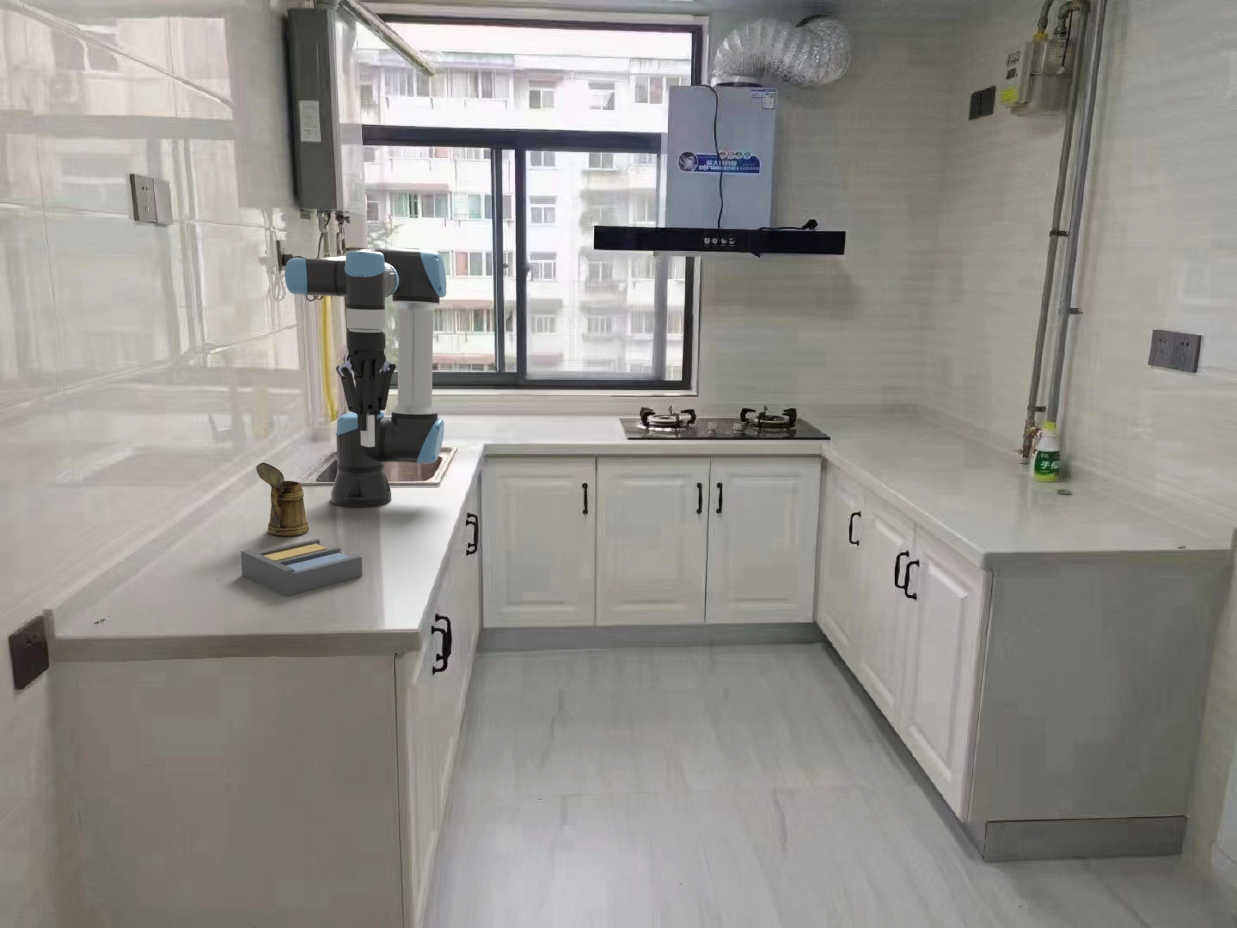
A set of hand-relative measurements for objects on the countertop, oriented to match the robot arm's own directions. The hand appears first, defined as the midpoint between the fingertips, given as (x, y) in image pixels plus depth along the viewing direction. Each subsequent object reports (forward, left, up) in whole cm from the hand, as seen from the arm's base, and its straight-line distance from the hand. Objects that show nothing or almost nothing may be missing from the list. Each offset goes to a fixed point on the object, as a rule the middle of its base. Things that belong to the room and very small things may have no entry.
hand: (367, 445), depth 185 cm
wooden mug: (+4, -27, -25) cm, 37 cm away
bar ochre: (+15, -4, -25) cm, 29 cm away
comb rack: (+16, 0, -24) cm, 29 cm away
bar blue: (+15, +4, -25) cm, 29 cm away
